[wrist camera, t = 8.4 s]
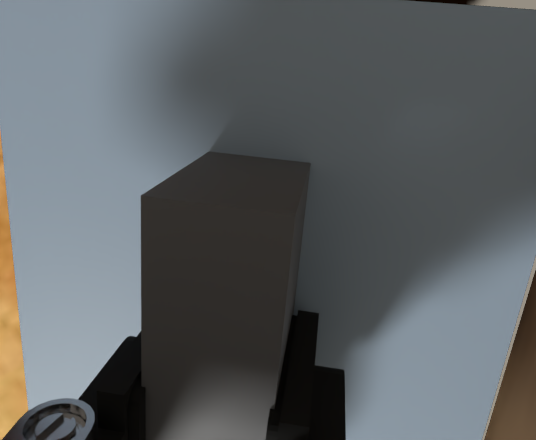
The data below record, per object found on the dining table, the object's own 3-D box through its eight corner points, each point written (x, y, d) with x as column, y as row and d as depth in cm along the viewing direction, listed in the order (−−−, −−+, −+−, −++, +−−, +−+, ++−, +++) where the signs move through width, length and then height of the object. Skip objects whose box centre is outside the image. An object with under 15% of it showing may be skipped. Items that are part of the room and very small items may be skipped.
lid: (14, -23, 11) (-217, -86, 7) (580, 20, 10) (799, -23, 5) (56, 501, 17) (-53, 670, 12) (426, 577, 15) (464, 802, 11)
